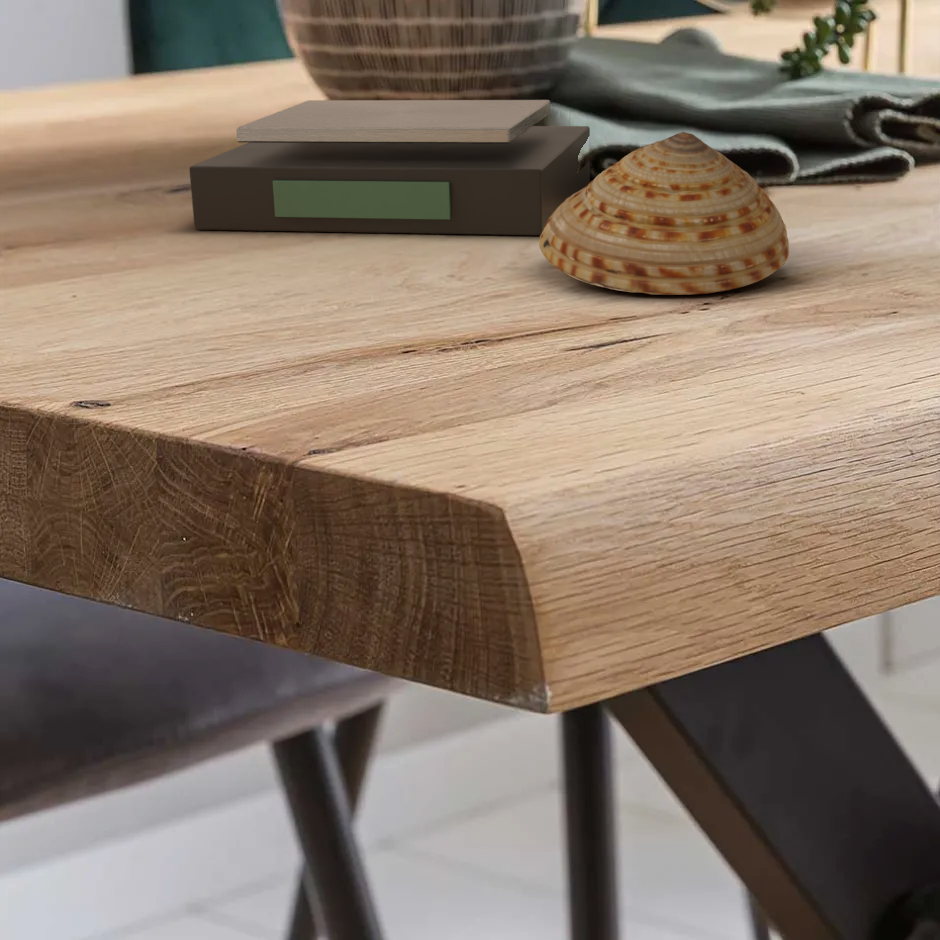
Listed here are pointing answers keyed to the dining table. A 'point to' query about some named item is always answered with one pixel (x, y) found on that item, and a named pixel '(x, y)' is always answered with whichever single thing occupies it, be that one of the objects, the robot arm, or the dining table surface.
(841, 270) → the dining table surface
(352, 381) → the dining table surface
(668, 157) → the seashell
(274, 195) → the scale
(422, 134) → the scale pan
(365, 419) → the dining table surface
